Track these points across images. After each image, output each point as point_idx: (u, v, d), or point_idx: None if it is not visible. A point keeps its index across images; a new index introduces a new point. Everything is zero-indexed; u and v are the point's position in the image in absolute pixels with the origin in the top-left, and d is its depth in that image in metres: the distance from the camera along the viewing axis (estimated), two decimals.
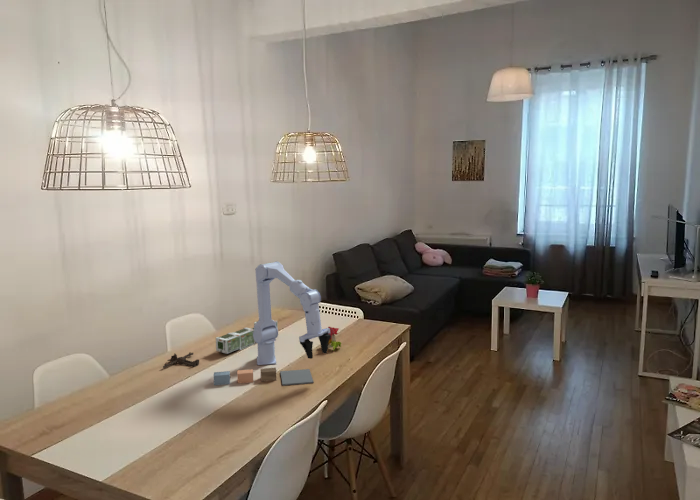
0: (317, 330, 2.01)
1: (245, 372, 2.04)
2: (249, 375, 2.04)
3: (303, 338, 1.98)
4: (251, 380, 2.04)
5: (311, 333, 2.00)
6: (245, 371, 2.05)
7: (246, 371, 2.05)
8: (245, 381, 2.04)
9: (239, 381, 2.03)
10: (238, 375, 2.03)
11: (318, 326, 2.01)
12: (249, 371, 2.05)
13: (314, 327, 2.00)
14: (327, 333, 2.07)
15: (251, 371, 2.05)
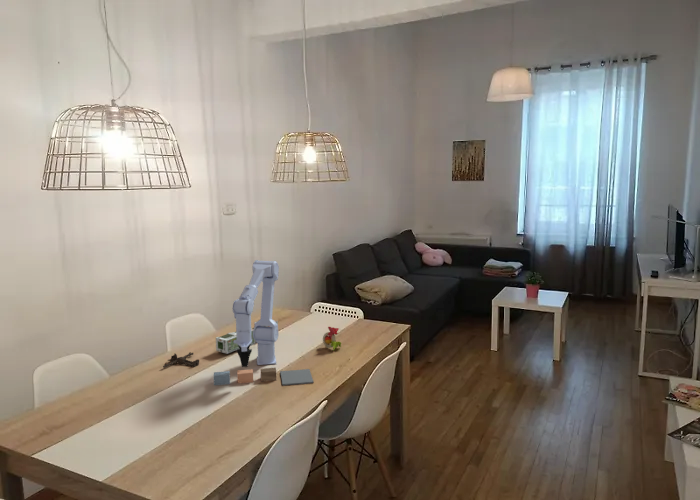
0: None
1: (245, 372, 2.04)
2: (249, 375, 2.04)
3: None
4: (251, 380, 2.04)
5: None
6: (245, 371, 2.05)
7: (246, 371, 2.05)
8: (245, 381, 2.04)
9: (239, 381, 2.03)
10: (238, 375, 2.03)
11: (236, 334, 2.02)
12: (249, 371, 2.05)
13: None
14: (242, 349, 1.97)
15: (251, 371, 2.05)
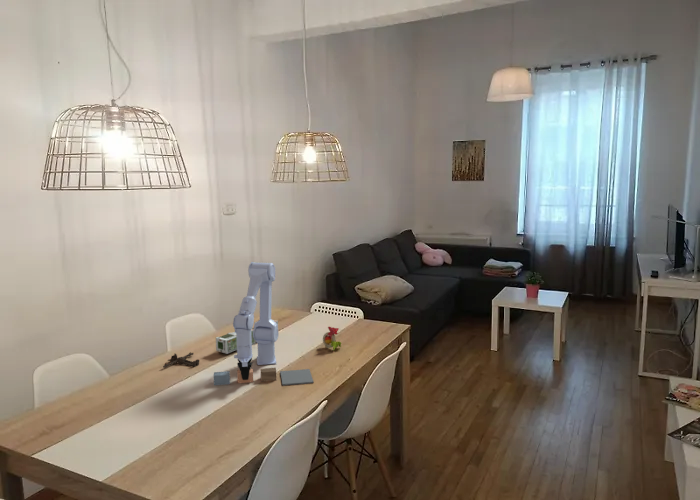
0: None
1: None
2: (249, 374, 2.04)
3: None
4: (251, 380, 2.04)
5: None
6: None
7: None
8: (245, 381, 2.04)
9: (239, 381, 2.03)
10: (238, 375, 2.03)
11: (237, 349, 2.03)
12: None
13: None
14: None
15: (251, 371, 2.05)
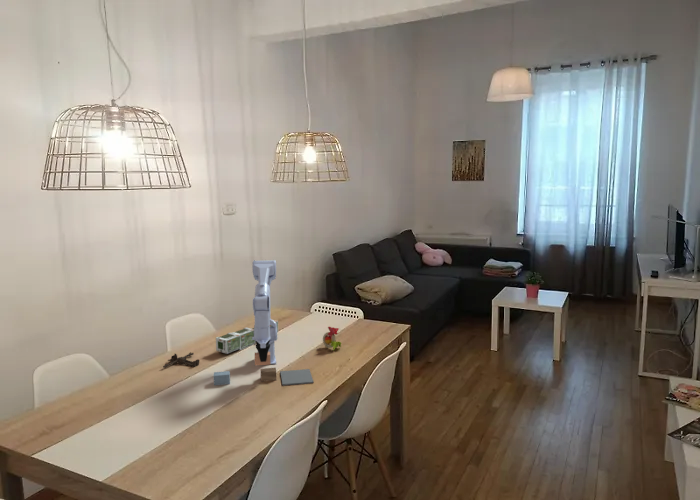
0: None
1: None
2: (267, 357, 2.03)
3: None
4: (268, 362, 2.04)
5: None
6: None
7: None
8: (262, 363, 2.04)
9: (256, 363, 2.03)
10: (255, 357, 2.03)
11: (255, 331, 2.03)
12: None
13: None
14: None
15: (268, 353, 2.05)
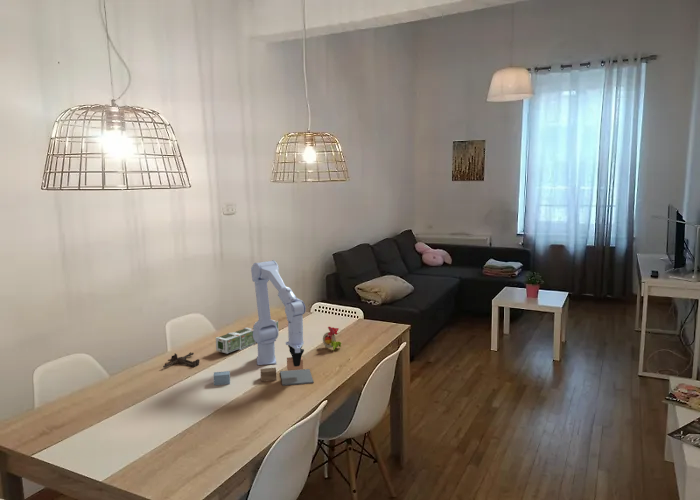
0: None
1: None
2: None
3: None
4: (301, 367, 2.06)
5: None
6: None
7: None
8: (295, 368, 2.06)
9: (289, 368, 2.05)
10: (288, 362, 2.05)
11: (288, 336, 2.05)
12: None
13: None
14: None
15: None
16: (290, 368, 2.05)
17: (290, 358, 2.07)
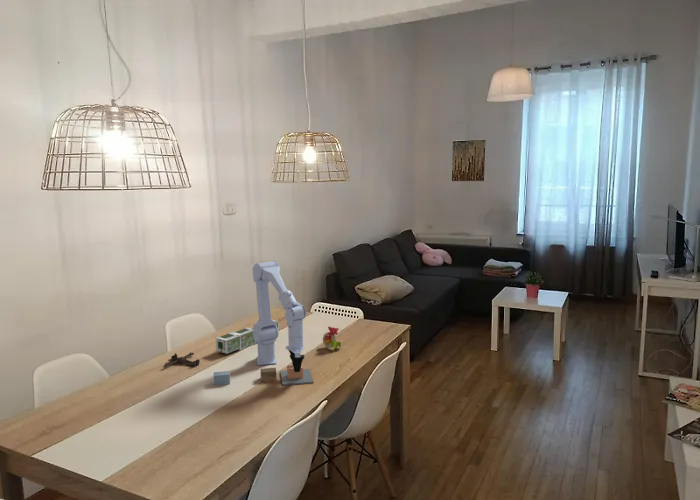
0: None
1: None
2: (300, 370, 2.06)
3: None
4: (301, 375, 2.07)
5: None
6: None
7: None
8: (295, 376, 2.06)
9: (289, 376, 2.06)
10: (288, 370, 2.05)
11: None
12: None
13: None
14: (295, 355, 2.01)
15: (301, 366, 2.08)
16: (290, 376, 2.06)
17: (290, 366, 2.08)
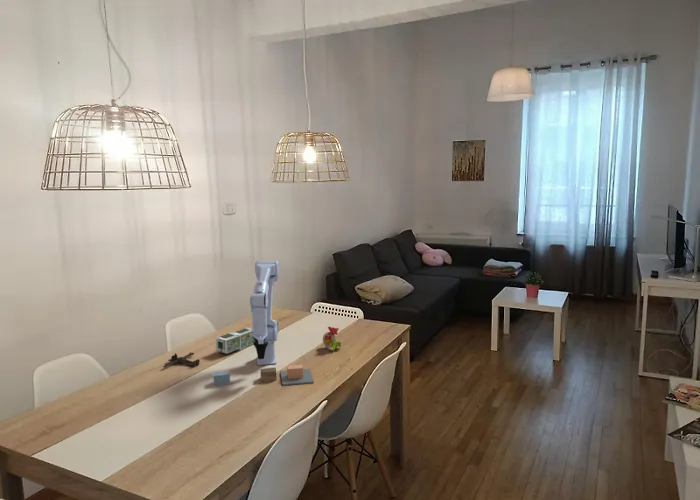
0: None
1: (295, 367, 2.07)
2: (300, 370, 2.06)
3: None
4: (301, 375, 2.07)
5: None
6: (295, 366, 2.08)
7: (296, 366, 2.08)
8: (295, 376, 2.06)
9: (289, 376, 2.06)
10: (288, 370, 2.05)
11: None
12: (299, 366, 2.08)
13: None
14: None
15: (301, 366, 2.08)
16: (290, 376, 2.06)
17: (290, 366, 2.08)
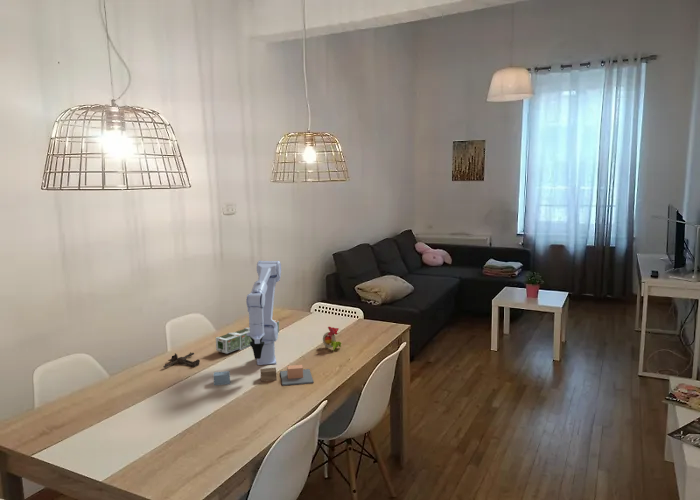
0: None
1: (295, 367, 2.07)
2: (300, 370, 2.06)
3: None
4: (301, 375, 2.07)
5: None
6: (295, 366, 2.08)
7: (296, 366, 2.08)
8: (295, 376, 2.06)
9: (289, 376, 2.06)
10: (288, 370, 2.05)
11: (249, 327, 2.08)
12: (299, 366, 2.08)
13: None
14: (255, 342, 2.03)
15: (301, 366, 2.08)
16: (290, 376, 2.06)
17: (290, 366, 2.08)
